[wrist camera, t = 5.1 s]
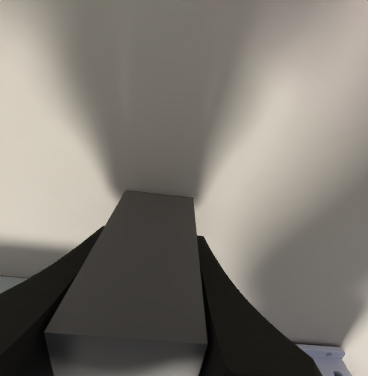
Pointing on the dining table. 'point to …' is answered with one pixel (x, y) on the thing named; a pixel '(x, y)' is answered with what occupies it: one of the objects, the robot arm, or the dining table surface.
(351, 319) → the dining table surface
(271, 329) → the robot arm
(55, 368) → the plug
